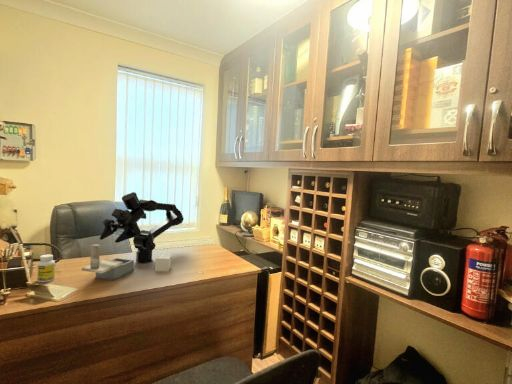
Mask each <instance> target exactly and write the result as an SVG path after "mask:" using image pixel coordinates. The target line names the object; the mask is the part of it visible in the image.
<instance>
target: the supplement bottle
mask: <svg viewBox="0 0 512 384" xmlns="http://www.w3.org/2000/svg"><path fill="white" fill-rule="evenodd" d="M53 258H54V255H53V254H51V253H50V254H43V255H40V257H39V260H40V261H39V262H38V263H37V277H36V278H37V282H38V283H47V282H52V281H53V280H54V279H55V273H56V269H55V268H56V266H55V265H56V262H55V260H54V259H53Z"/></svg>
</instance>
